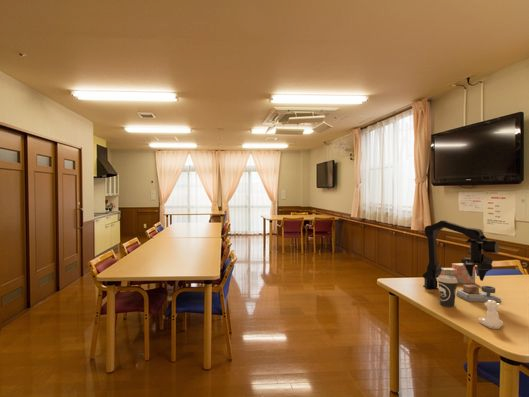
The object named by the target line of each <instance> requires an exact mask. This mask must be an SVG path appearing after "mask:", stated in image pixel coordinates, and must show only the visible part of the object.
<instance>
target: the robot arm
mask: <svg viewBox="0 0 529 397" xmlns="http://www.w3.org/2000/svg"><path fill="white" fill-rule="evenodd" d="M443 229H448V230H451V231H453V232H457V233H459V234H463V235H464V236H466V237H467V238H468V239H467V240H465V243H468V244H469V251H468V255H469V257H463V258H462V259H461V260H460V261H461V263H464V264H463V265H464V266H465V268H466V270H467V272H468V274H469V275H470V277H472V275H473V267H474V266H475V267H477V268H476V270H477V274H478V277H479V280H480V281H481V282H482V281H484V279H485V277H486V274H487V272H490V271H491V270H493V269H494V268H493V261H494V259H493V258H490V257H488V256H487V255H485V253H489V254H490V253H491V254H498V253H499V251H500V246H499V243H498V241H497V240H488V238H487V237H486V236H485V234H484V231H483V230H482V229H480V228H475V227H466V226H465V225H464V226H463V225H459V224H457V223H453V222H450V221H447V220H445V219H444V220H443V219H442V220H440V221H438V222H436V223H434V224H430V225H426V226H425V227H424V230H423V231H424V235H425V237H426V239H427V244H428V245H427V247H428V248H427V250H428V263H427V265H426V271H425V272H424V273H423V274H422V277H423V278H422V279H423V280H424V284H423V285H422V286H423V287H424V288H426V289H428V290H431V289H432V290H439V287H438V280H437V279H438V277H439V275H440V274H441V271H442V270H441V268H442V264H439V263H438V250H437V248H438V247H437V239H438V237H439V232H440V231H441V230H443ZM483 252H484V253H483Z"/></svg>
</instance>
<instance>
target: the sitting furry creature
mask: <svg viewBox="0 0 529 397" xmlns="http://www.w3.org/2000/svg"><path fill="white" fill-rule="evenodd" d="M497 302H498V301H494V300H488V301H485V302H484V305H485V307H486V310H487V311H486V314H485V316H486V317H482V316H481V317H479V318H478V322H479V323H480V324H481V325H483V326H484V327H487V328H489V329H492V330H499V329H500V328H501V327H502V326H503V325H504V322H503V320H501V319H500V315H499V312H498V309H499V307H500V306H501V303H497Z"/></svg>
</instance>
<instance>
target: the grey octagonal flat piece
mask: <svg viewBox="0 0 529 397" xmlns="http://www.w3.org/2000/svg"><path fill="white" fill-rule="evenodd" d="M481 292H482V293H490V294H495V293H496V287H494V286H490V285H482V286H481Z"/></svg>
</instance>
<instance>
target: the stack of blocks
mask: <svg viewBox="0 0 529 397" xmlns="http://www.w3.org/2000/svg"><path fill="white" fill-rule="evenodd" d="M463 264H464V263H460V262H459V263H457V262H456V263H452V262H451V267H441V270H442V271H441V274H440V275H448V276H453V277H456V279H457V281H458V283H457V284H476V265H475V266H474V267H473V275H472V277H470V275H469V274H468V272H467V270H466V268H465V266H464V265H463ZM440 275H438V277H439V276H440Z"/></svg>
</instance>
